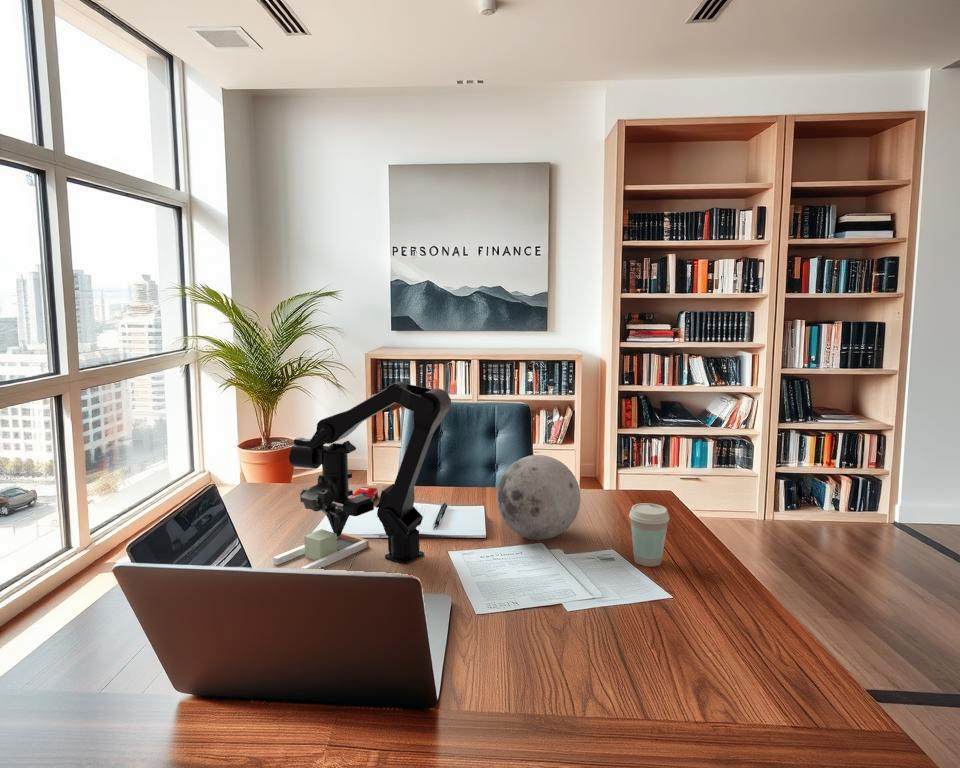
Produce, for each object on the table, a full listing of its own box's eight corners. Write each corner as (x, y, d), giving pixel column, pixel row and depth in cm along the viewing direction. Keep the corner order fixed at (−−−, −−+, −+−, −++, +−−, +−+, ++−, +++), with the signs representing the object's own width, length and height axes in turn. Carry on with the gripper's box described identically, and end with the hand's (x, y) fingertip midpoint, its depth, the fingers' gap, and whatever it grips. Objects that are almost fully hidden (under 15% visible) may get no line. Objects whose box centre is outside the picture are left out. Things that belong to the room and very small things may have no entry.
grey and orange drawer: (368, 546, 150) (368, 540, 150) (350, 554, 145) (350, 548, 145) (337, 537, 156) (337, 531, 155) (319, 544, 151) (319, 538, 151)
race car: (362, 512, 174) (362, 498, 174) (344, 510, 176) (343, 496, 175) (381, 497, 187) (381, 483, 186) (364, 495, 188) (363, 482, 188)
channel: (366, 547, 149) (366, 541, 149) (305, 575, 134) (305, 568, 134) (335, 538, 155) (335, 532, 155) (273, 564, 140) (273, 557, 140)
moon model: (577, 523, 164) (578, 447, 161) (582, 554, 144) (583, 468, 142) (499, 521, 166) (499, 445, 163) (493, 551, 146) (493, 466, 144)
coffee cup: (669, 570, 136) (671, 516, 134) (628, 567, 138) (629, 513, 136) (666, 554, 144) (668, 503, 142) (627, 552, 146) (628, 501, 144)
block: (337, 554, 145) (336, 533, 145) (320, 562, 141) (319, 540, 141) (322, 549, 148) (321, 529, 147) (305, 557, 144) (304, 536, 143)
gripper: (279, 471, 145) (283, 538, 147) (337, 485, 134) (339, 556, 137) (318, 461, 154) (320, 523, 156) (374, 473, 143) (376, 540, 146)
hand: (337, 535), depth 148 cm, fingers closed
